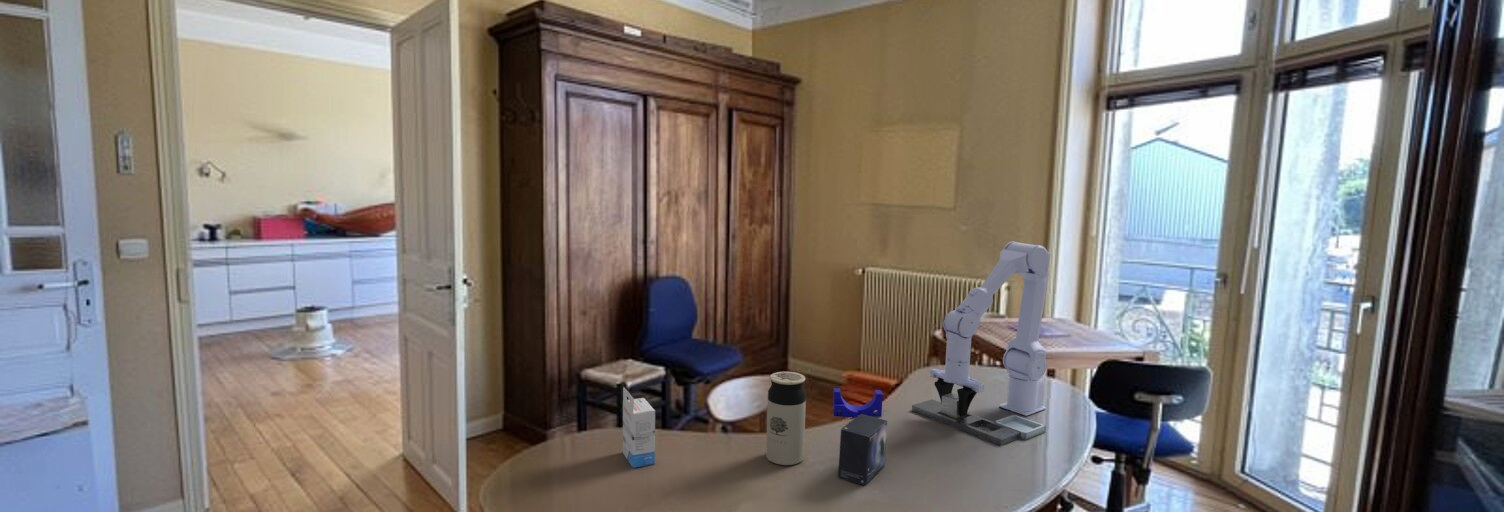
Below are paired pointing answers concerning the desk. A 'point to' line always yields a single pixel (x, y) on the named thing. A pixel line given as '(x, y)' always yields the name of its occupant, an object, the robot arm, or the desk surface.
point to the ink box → (638, 431)
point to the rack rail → (969, 423)
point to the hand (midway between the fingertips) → (954, 412)
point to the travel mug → (786, 418)
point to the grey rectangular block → (951, 406)
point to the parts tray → (1022, 426)
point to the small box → (862, 449)
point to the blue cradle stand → (849, 410)
